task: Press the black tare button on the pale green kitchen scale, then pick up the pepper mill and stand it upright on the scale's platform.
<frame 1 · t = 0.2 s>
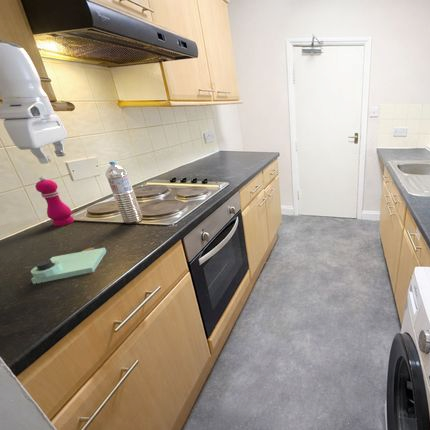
hand: (54, 159, 78), 31 cm above the worktop, tool pointing down, fingers open, 8 cm apart
scale: (73, 266, 82), on the worktop
pepper mill: (64, 223, 110), on the worktop
water bottle: (134, 221, 110), on the worktop
tare button: (44, 265, 76), point 4 cm above the worktop, slide at 0.1 cm
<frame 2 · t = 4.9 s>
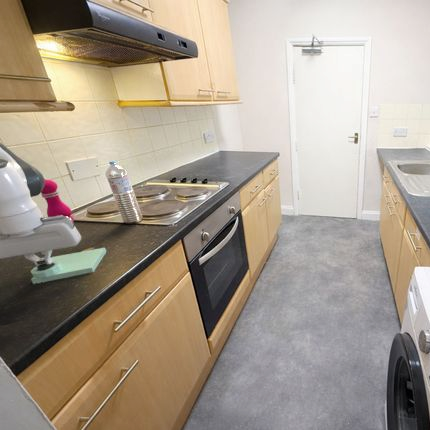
hand: (45, 264, 76), 4 cm above the worktop, tool pointing down, fingers closed, pressing on tare button
tare button: (45, 266, 76), point 3 cm above the worktop, slide at -0.5 cm, touching gripper
everything else where it was.
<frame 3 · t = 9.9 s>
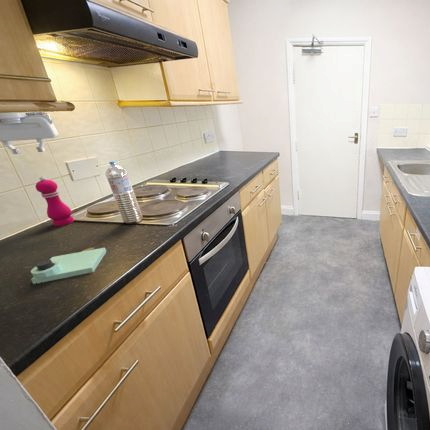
hand: (29, 152, 97), 29 cm above the worktop, tool pointing down, fingers open, 6 cm apart
tare button: (45, 265, 76), point 4 cm above the worktop, slide at 0.1 cm
everything else where it was.
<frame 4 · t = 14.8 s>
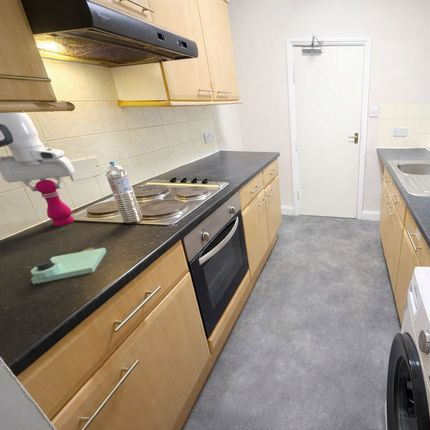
hand: (48, 189, 104), 15 cm above the worktop, tool pointing down, fingers closed on pepper mill, 6 cm apart
pepper mill: (64, 223, 110), on the worktop, touching gripper
everything else where it was.
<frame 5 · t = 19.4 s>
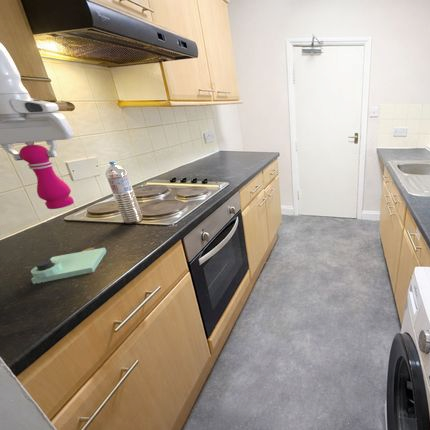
hand: (37, 158, 76), 32 cm above the worktop, tool pointing down, fingers closed on pepper mill, 6 cm apart
pepper mill: (61, 205, 82), point 17 cm above the worktop, touching gripper
everything else where it was.
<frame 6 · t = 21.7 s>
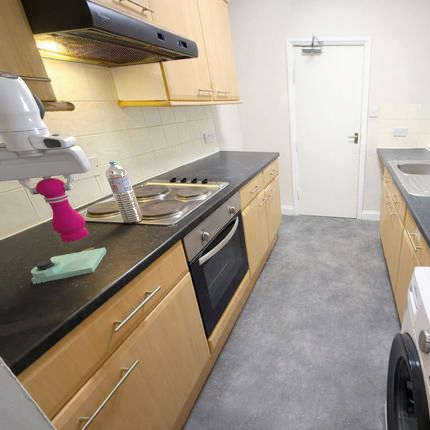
hand: (53, 191, 74), 23 cm above the worktop, tool pointing down, fingers closed on pepper mill, 6 cm apart
pepper mill: (76, 237, 81), point 9 cm above the worktop, touching gripper
everything else where it was.
when the fingers open (16 cm above the worktop, at t = 24.1 s): pepper mill stays where it is, resting on scale.
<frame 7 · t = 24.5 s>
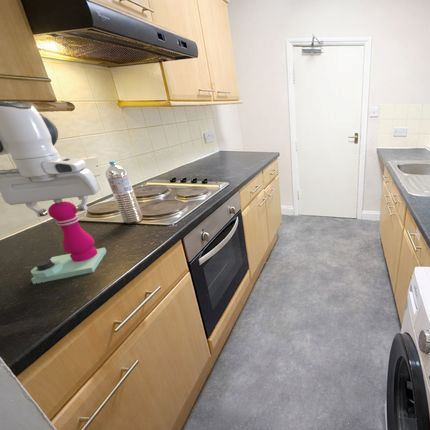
hand: (64, 212, 77), 17 cm above the worktop, tool pointing down, fingers open, 8 cm apart
pepper mill: (85, 256, 84), point 2 cm above the worktop, touching scale
everything else where it was.
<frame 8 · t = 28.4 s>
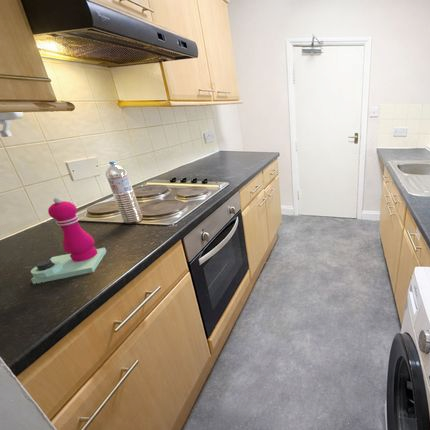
nothing on the worktop moved.
at the end: tare button pushed in 1.1 cm at the most during the clip, back to where it started at the end; pepper mill inside the target area on the scale (0.9 cm from its centre), point 1.5 cm above the scale's base; pepper mill tilted 0° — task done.
